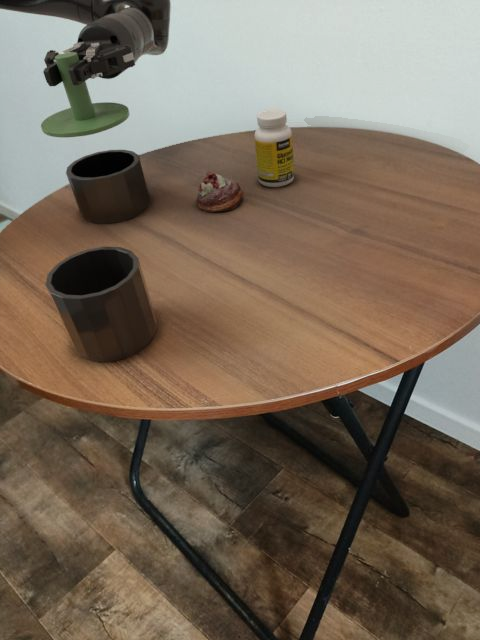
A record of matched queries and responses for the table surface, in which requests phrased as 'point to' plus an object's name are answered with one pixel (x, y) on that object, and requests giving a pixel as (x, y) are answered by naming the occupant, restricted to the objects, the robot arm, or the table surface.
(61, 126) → the lid
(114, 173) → the tin
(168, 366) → the table surface
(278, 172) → the pill bottle
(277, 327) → the table surface
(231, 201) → the pastry
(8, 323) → the table surface
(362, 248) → the table surface
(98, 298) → the cup
